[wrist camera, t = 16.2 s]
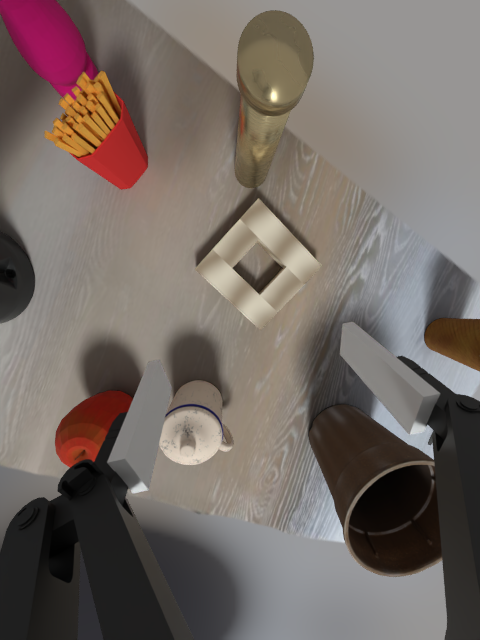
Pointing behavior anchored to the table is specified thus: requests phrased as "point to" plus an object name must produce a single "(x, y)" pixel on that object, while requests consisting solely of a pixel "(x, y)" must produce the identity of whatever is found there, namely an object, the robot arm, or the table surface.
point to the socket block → (278, 245)
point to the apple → (89, 426)
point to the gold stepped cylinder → (268, 88)
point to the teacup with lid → (195, 424)
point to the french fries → (100, 132)
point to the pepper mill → (48, 42)
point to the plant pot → (379, 492)
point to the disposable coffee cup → (456, 340)
